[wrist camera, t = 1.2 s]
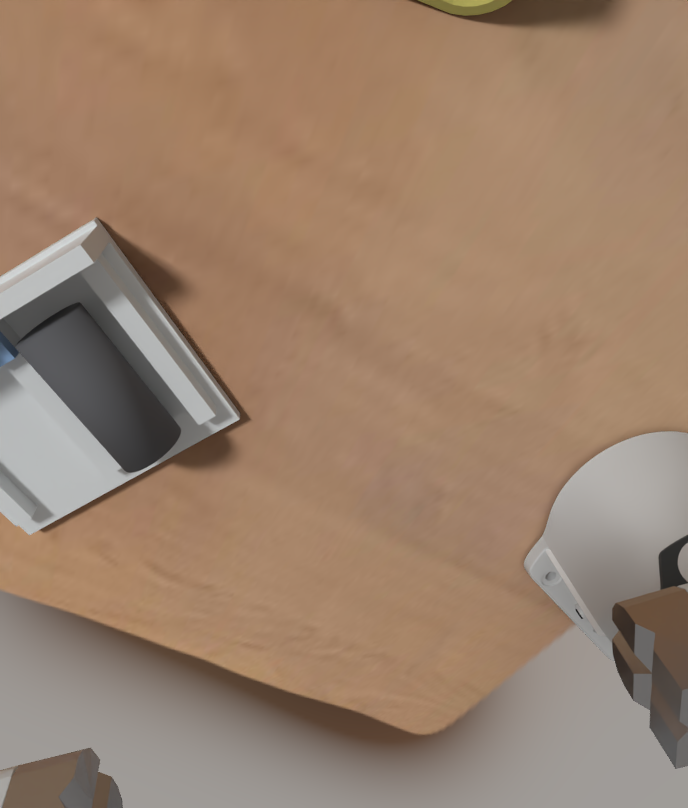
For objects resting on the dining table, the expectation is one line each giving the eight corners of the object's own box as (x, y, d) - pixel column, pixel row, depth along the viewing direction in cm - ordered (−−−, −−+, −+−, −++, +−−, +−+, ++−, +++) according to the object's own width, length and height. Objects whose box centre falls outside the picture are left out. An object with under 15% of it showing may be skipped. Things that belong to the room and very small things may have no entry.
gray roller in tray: (185, 415, 40) (176, 451, 37) (130, 445, 41) (117, 482, 37) (88, 293, 36) (68, 320, 32) (29, 328, 37) (4, 358, 33)
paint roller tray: (239, 413, 41) (239, 453, 37) (32, 527, 43) (9, 578, 39) (96, 217, 35) (76, 239, 31) (-140, 361, 37) (-190, 401, 33)
